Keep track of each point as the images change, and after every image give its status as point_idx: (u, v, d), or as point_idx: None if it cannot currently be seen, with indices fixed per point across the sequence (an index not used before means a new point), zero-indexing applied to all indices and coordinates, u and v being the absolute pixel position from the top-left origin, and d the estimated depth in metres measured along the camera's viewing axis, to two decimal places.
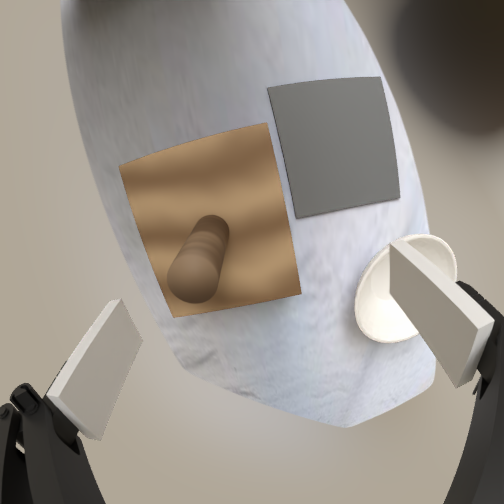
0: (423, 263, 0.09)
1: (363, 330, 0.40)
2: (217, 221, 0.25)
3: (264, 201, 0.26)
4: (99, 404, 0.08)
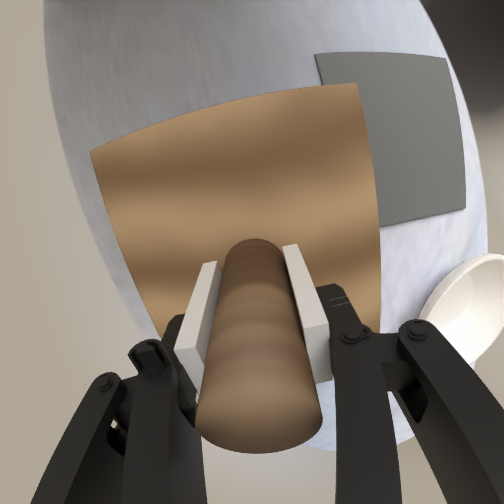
0: (297, 265, 0.12)
1: None
2: (271, 253, 0.14)
3: (347, 217, 0.14)
4: None
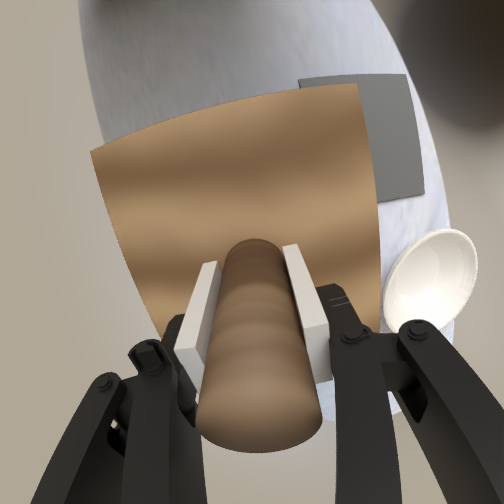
0: (297, 265, 0.12)
1: (390, 326, 0.38)
2: (271, 253, 0.14)
3: (347, 217, 0.14)
4: None
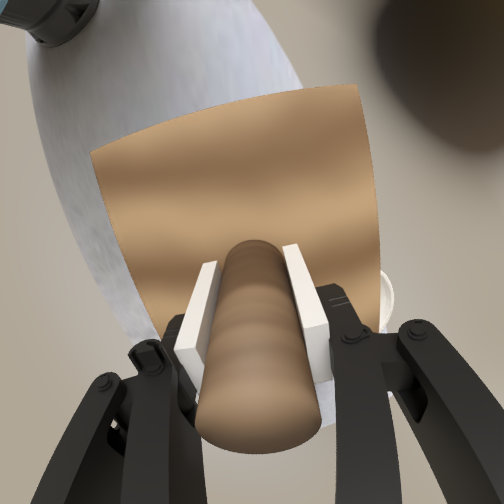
0: (297, 265, 0.12)
1: None
2: (271, 254, 0.14)
3: (347, 218, 0.14)
4: None
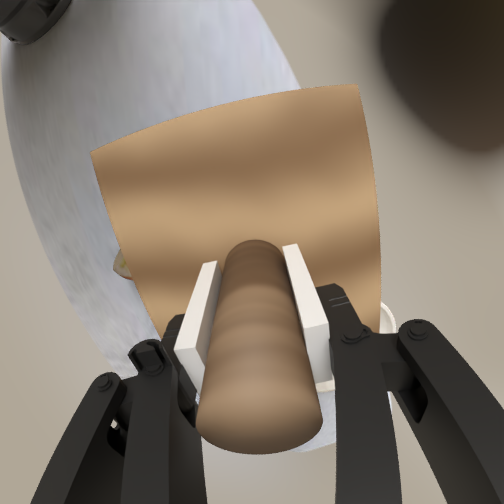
0: (297, 265, 0.12)
1: None
2: (272, 254, 0.14)
3: (347, 218, 0.14)
4: None
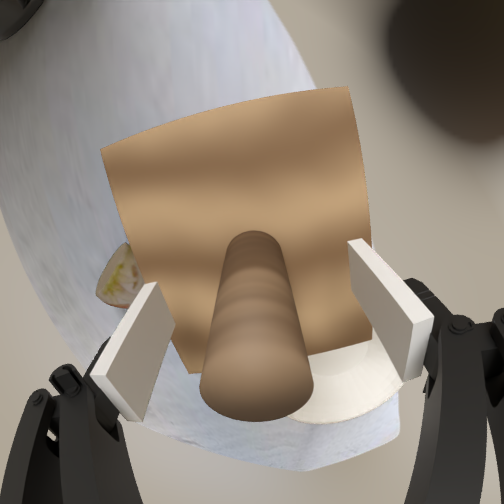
0: (374, 260, 0.10)
1: (288, 415, 0.33)
2: (269, 243, 0.15)
3: (339, 211, 0.16)
4: (141, 384, 0.09)
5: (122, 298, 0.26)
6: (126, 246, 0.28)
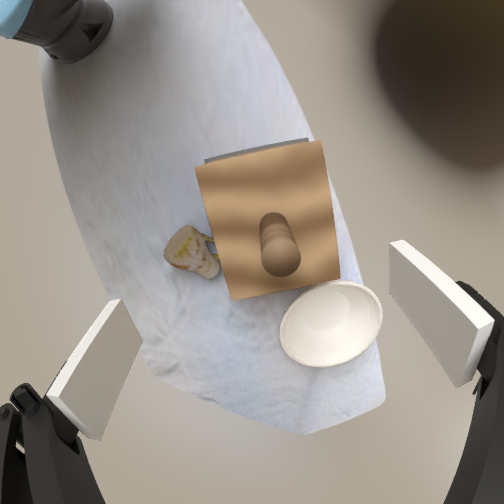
0: (423, 263, 0.09)
1: (291, 356, 0.49)
2: (281, 217, 0.31)
3: (316, 203, 0.32)
4: (99, 404, 0.08)
5: (187, 260, 0.43)
6: (191, 226, 0.44)
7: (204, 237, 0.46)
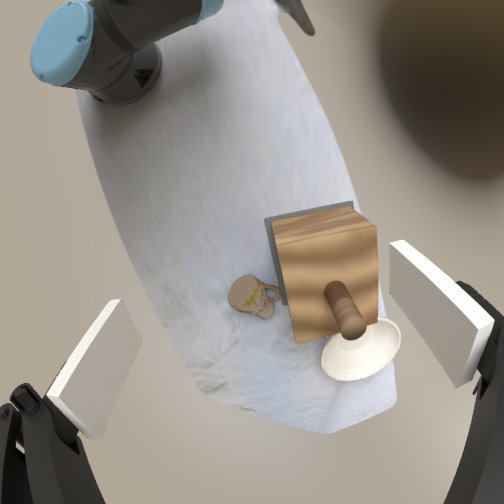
0: (423, 263, 0.09)
1: (328, 374, 0.58)
2: (343, 286, 0.39)
3: (367, 272, 0.40)
4: (99, 404, 0.08)
5: (253, 307, 0.51)
6: (255, 278, 0.52)
7: (264, 285, 0.54)
